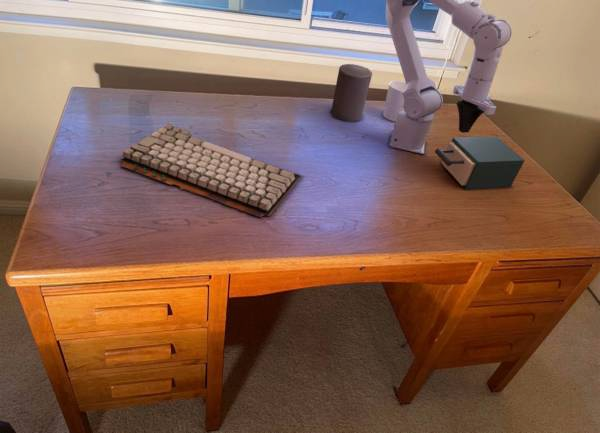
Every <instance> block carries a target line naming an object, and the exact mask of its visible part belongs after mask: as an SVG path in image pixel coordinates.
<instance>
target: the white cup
mask: <svg viewBox="0 0 600 433" xmlns="http://www.w3.org/2000/svg"><path fill="white" fill-rule="evenodd" d="M405 87H406V81H402V80H392V81H390V82H389V84H388V88H387V92H386V96H385V102H384V108H383V112H382V116H383V118H384V119H386V120H388V121H392V122H394V123H395V122H396V118H397V115H398V112H399V111H403V112H405V111H404V97H403V92H404V89H405Z"/></svg>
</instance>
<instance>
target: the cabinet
mask: <svg viewBox="0 0 600 433" xmlns="http://www.w3.org/2000/svg"><path fill="white" fill-rule="evenodd" d="M450 142H454V143H455V144H456V145H457V146H459V147H460V148H461V149H462V150H463V151H464V152H465V153H466V154H467V155H468V156H469V157H470V158H471V159H472V160H473V161H474V162H475V166H474V168H473V170H472V172H471V175H470V177H469V179H468V181H467V184H466V185H461V186H462V187H463V189H464V190H469V191H470V190H483V189H485V190H486V189H499V188H511V187H512V185H513V184H514V182H515V180H516V179H517V176H518V175H519V172H520V170H521V168H522V167H523V165H524V162H525V161H526V160H525V159H524V158H523V157H522V156H521V155H520V154H518V153H517V152H516V151H515V150H514V149H512V148H511V147H510V146H509V145H508V144H507V143H505V141H503V140H502V139H501V138H500V137H498V136H471V137H469V136H463V137H462V136H461V137H459V136H457V137H452V139H451V141H450Z"/></svg>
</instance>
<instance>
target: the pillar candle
mask: <svg viewBox="0 0 600 433" xmlns="http://www.w3.org/2000/svg"><path fill="white" fill-rule="evenodd" d="M372 77H373V71H371V70H370V69H369V68H368V67H365V66H362V65H359V64H354V63H344V64H342V65H340V66H339V68H338V74H337V78H336V84H335V87H334V94H333V99H332V104H331V105H332V106H331V109H330V113H331V115H332V116H333V117H335V119H338V120H341V121H344V122H357V121H360V120H361V119H362V118H363V113H364V110H365V105H366V101H367V97H368V92H369V90H370V84H371V80H372Z"/></svg>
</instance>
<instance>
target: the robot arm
mask: <svg viewBox="0 0 600 433" xmlns="http://www.w3.org/2000/svg"><path fill="white" fill-rule="evenodd" d="M420 1H421V0H385V21H386V24H387V26H388V30H389V34H390V36H391V39H392V42H393V46H394V49H395V52H396V56H397V58H398V61H399V65H400V68H401V72H402V74H403V78H404V82H406V87H405V89H404V92H403V97H404V111H405V112H403V111H399V112H398V115H397V118H396V122H395V121H394V125H393V129H391V133H390V139H389V147H390V148H395V149H399V150H403V151H407V152H412V153H414V154H415V153H416V154H418V155H419V154H420V155H424V154H425V143H426V139H427V136H428V134H429V131H430V128H431V126H432V125H431V124H432V122H433V120H434V116H435V113H436V112H438V111H439V110H441V108H442V106H443V103H444V98H443V95H442V93H441V91H440V90H439V89H438V88H437V85H436V83H435V82H434V81H433V80H432V79H431V78H430V77H428V75H427V74H428V73H427V71H426V68H425V65H424V61H423V58H422V55H421V51H420V48H419V44H418V41H417V38H416V35H415V31H414V29H413V25H412V21H411V19H410V16H411V13H412V11H413V10H414V8H415V7H416V5H418V3H419V2H420ZM427 2H428V3H431V4H432V5H434V6H435V7H437V8H438V9H440V10H441V11H443V12H445V13H446V14H447V15H449V16H450V18H451V24H452V25H453V26H454V27H455V28H457V29H458V30H460V31H461V32H462V33H463V34H465V35H466V36H467V37H468V38H470V39H471V40H473V44H474V52H473V55H472V58H471V62H470V65H469V69H468V71H467V72H468V73H467V76H466V78H465V82H464V86H463V85H459V84H458V85H454V86H453V90H452V94H454V95H457V96H459V97H460V98H461V99H462V100H460V101H457V102H456V107H457V111H458V131H459V132H460V133H464V134H465V133H469V132H470V130H471V129H472V127H473V126H474V125H475V123H476V121H477V120H478V119H479V118H480V117H481V115H483V114H484V115H486V116H493V115H495V112H496V109H497V106H496V105H495V104H493V102H492V101H491V95H490V94H489V93H490V89H491V87H492V84H493V80H494V79H495V74H496V71H497V70H498V69H497V68H498V65H499V62H500V58H501V55H502V52H503V50H504V47H505V46H506V45H507V44H508V43H509V42H510V39H511V37H512V28H511V25H510V24H509V23H508V22H507V20H505V19H495V18H496V15H495V14H494V13H490V14H489V13H488V12H486V11H485V10H484V9H483V8H481V7H479V6H480V3H479V2H478V1H477V0H472V1H471V0H465V1H463V2H462V1H461V0H427Z"/></svg>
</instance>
